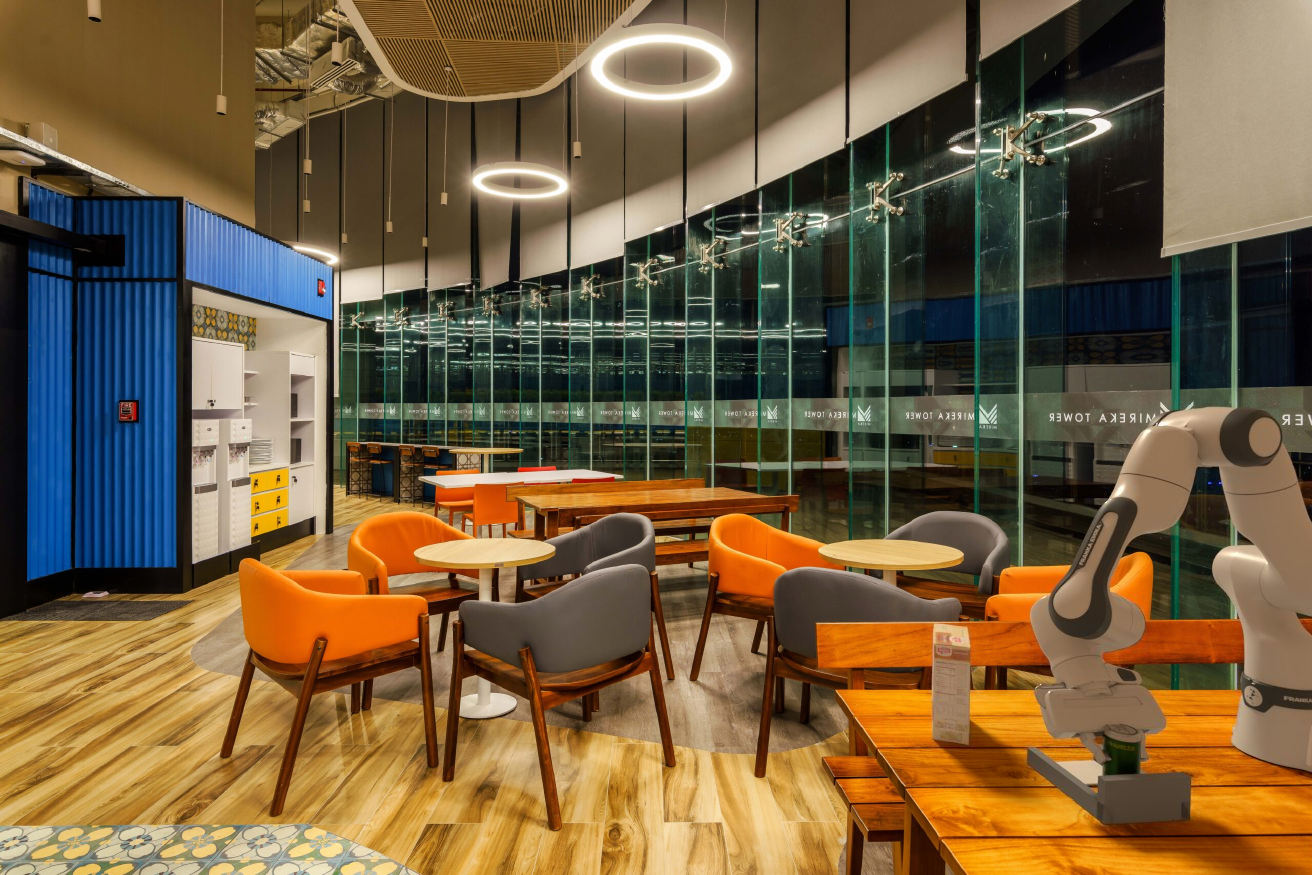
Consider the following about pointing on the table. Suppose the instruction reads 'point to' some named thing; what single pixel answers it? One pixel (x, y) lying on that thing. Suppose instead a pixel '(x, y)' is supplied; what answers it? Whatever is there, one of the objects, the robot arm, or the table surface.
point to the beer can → (1122, 750)
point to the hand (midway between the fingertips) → (1124, 761)
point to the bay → (1118, 790)
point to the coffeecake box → (951, 684)
